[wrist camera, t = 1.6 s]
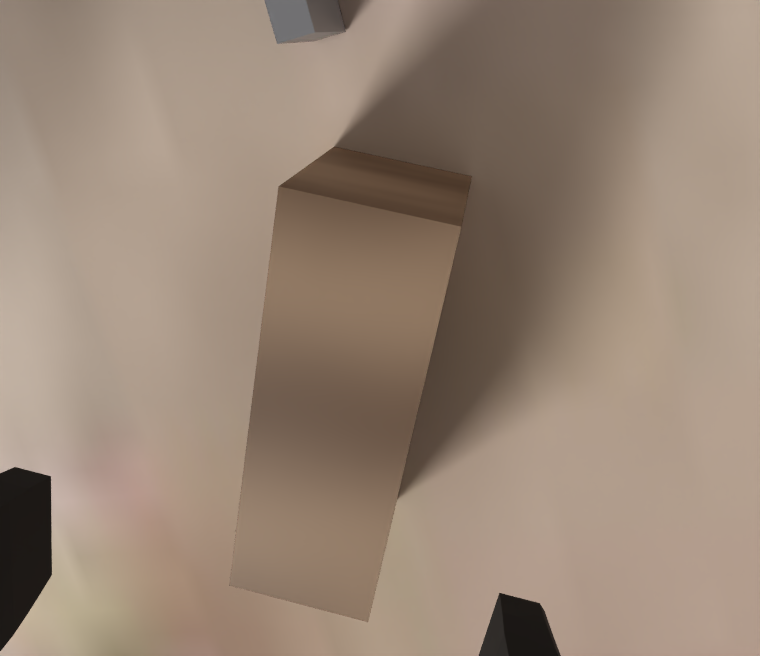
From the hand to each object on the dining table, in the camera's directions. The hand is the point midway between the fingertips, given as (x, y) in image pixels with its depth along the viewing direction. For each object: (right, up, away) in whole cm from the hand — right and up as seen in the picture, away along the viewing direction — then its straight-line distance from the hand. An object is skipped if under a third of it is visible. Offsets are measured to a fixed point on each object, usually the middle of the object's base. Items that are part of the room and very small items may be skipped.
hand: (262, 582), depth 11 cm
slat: (+2, +4, +9) cm, 10 cm away
